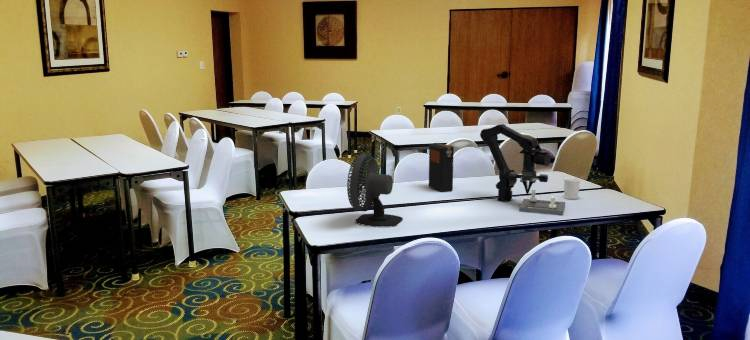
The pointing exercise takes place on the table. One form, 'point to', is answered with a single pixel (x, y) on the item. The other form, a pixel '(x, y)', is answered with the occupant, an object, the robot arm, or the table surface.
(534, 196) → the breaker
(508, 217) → the table surface
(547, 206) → the board
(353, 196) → the fan
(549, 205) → the block
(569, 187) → the white cup
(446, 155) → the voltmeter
